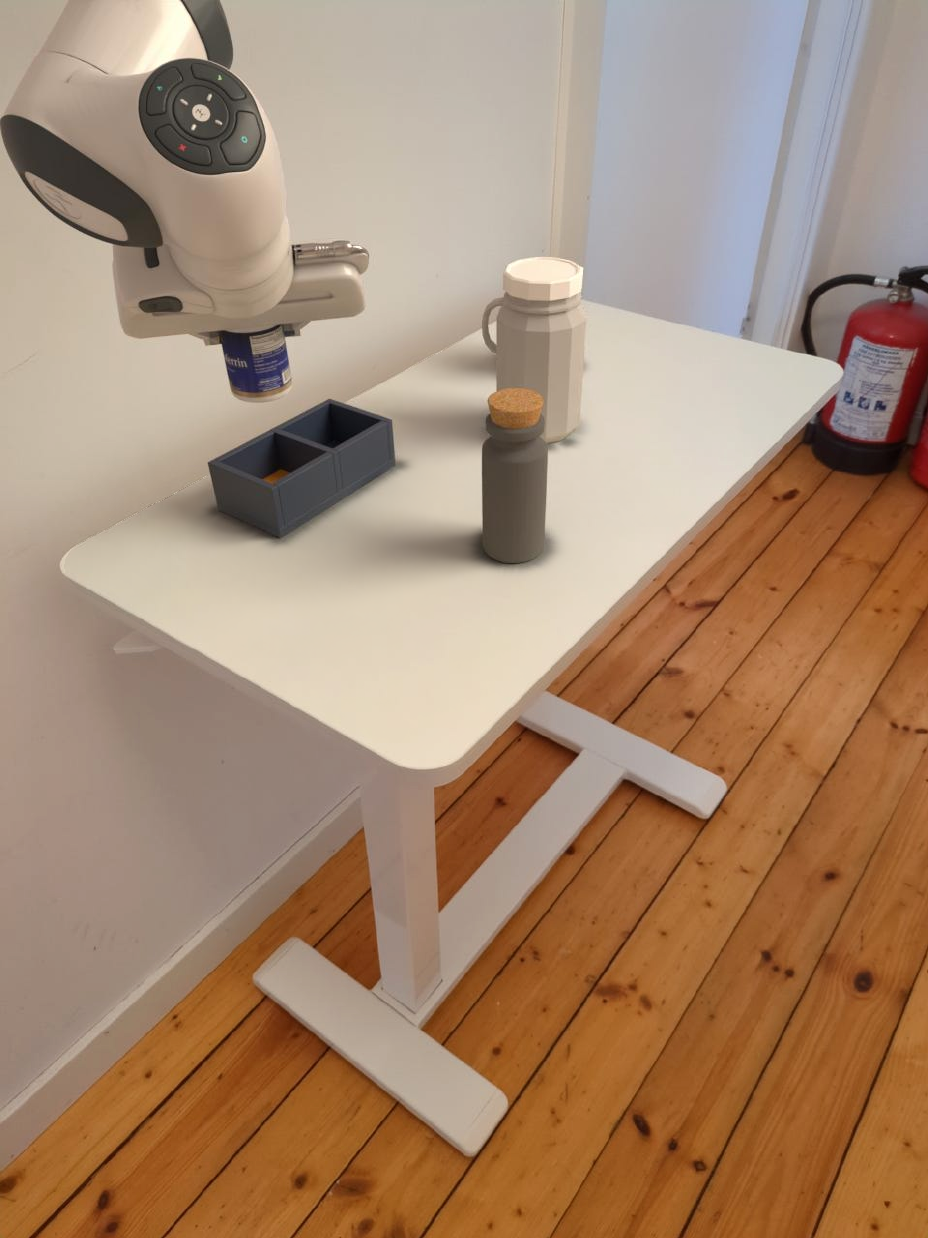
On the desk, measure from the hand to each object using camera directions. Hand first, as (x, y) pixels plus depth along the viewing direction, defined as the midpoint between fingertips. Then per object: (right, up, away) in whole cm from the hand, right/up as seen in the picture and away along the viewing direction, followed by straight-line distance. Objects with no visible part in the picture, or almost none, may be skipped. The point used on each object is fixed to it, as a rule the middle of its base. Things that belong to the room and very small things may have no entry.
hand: (251, 333), depth 81 cm
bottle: (+24, -19, +4) cm, 31 cm away
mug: (+28, +8, +37) cm, 47 cm away
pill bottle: (0, -5, +3) cm, 6 cm away
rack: (+3, -12, +13) cm, 18 cm away
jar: (+28, -4, +23) cm, 36 cm away
